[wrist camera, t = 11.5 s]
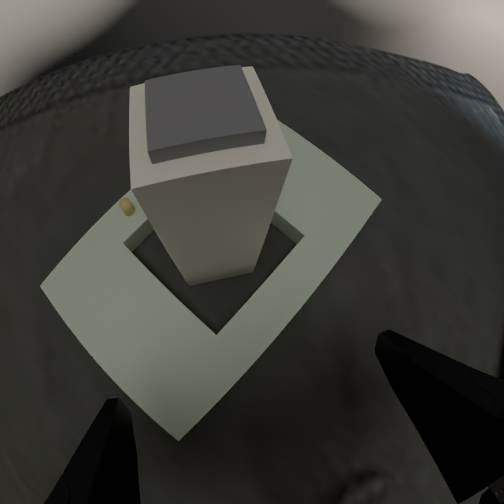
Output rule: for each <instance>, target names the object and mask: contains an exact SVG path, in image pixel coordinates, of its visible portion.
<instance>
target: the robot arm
mask: <svg viewBox="0 0 504 504" xmlns="http://www.w3.org/2000/svg"><path fill="white" fill-rule="evenodd" d="M375 353H376V356H377V358H378V360H379V362H380V364H381V366H382V368H383V371H384V373H385V375H386V377H387V379H388V381H389V383H390V385H391V387H392V389H393V391H394V392H395V394H396V396H397V397H398V399H399V401H400V402H401V404H402V406H403V407H404V409H405V411H406V412H407V414H408V416H409V417H410V419H411V421H412V422H413V424H414V426H415V428H416V429H417V431H418V433H419V434H420V436H421V438H422V440H423V441H424V443H425V445H426V447H427V448H428V450H429V452H430V454H431V455H432V457H433V459H434V461H435V463H436V464H437V466H438V468H439V470H440V472H441V474H442V476H443V478H444V479H445V481H446V483H447V485H448V487H449V489H450V491H451V493H452V495H453V496H454V498H455V500H456V502H457V503H458V504H459V503H461V502H463V501H464V500H466V499H468V498H470V497H471V496H473V495H475V494H476V493H478V492H480V491H481V490H483V489H484V488H486V487H489V488H488V489H487V490H486V491H485V492H484V493H483V494H482V495H481V498H480V502H479V504H504V380H503V379H500V378H497V377H494V376H491V375H488V374H486V373H483V372H481V371H479V370H476V369H474V368H472V367H470V366H469V367H468V366H467V365H465V364H463V363H461V362H459V361H456V360H454V359H452V358H450V357H448V356H445V355H443V354H441V353H439V352H437V351H435V350H432V349H430V348H428V347H426V346H424V345H422V344H419V343H417V342H415V341H413V340H411V339H409V338H406V337H404V336H402V335H400V334H398V333H396V332H394V331H391V330H385V331H383V332H380V333H379V334H378V337H377V342H376V346H375ZM44 504H141V502H140V492H139V480H138V464H137V451H136V444H135V438H134V431H133V423H132V416H131V412H130V410H129V408H128V407H127V406H126V404H125V403H124V402H123V400H122V399H121V398H120V397H110V398H108V399H107V400H106V402H105V403H104V405H103V407H102V408H101V410H100V411H99V413H98V415H97V416H96V418H95V420H94V421H93V423H92V424H91V426H90V428H89V429H88V431H87V433H86V434H85V436H84V438H83V439H82V441H81V443H80V444H79V446H78V448H77V449H76V451H75V453H74V455H73V456H72V458H71V460H70V461H69V463H68V465H67V467H66V468H65V470H64V472H63V474H62V475H61V477H60V479H59V481H58V482H57V484H56V486H55V487H54V489H53V491H52V492H51V494H50V495H49V497H48V498H47V500H46V501H45V503H44Z"/></svg>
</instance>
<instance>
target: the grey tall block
mask: <svg viewBox="0 0 504 504" xmlns="http://www.w3.org/2000/svg"><path fill="white" fill-rule="evenodd" d="M129 152H130V178H131V190H132V192H133V193H134V195H135V197H136V199H137V201H138V202H139V204H140V206H141V208H142V209H143V211H144V213H145V215H146V216H147V218H148V220H149V222H150V223H151V225H152V227H153V228H154V230H155V232H156V234H157V235H158V237H159V239H160V240H161V242H162V244H163V245H164V247H165V249H166V250H167V252H168V253H169V255H170V257H171V258H172V260H173V262H174V263H175V265H176V266H177V268H178V270H179V271H180V273H181V274H182V276H183V277H184V279H185V281H186V282H187V284H188V285H189V286H193V285H198V284H202V283H207V282H211V281H216V280H220V279H225V278H229V277H234V276H238V275H242V274H247V273H251V272H254V269H255V266H256V263H257V260H258V257H259V255H260V252H261V249H262V246H263V243H264V240H265V237H266V234H267V232H268V229H269V226H270V223H271V220H272V217H273V214H274V211H275V209H276V206H277V203H278V200H279V197H280V194H281V191H282V188H283V185H284V182H285V179H286V177H287V174H288V171H289V168H290V165H291V162H292V159H293V158H292V155H291V153H290V150H289V148H288V145H287V143H286V140H285V138H284V136H283V133H282V131H281V128H280V126H279V124H278V121H277V119H276V117H275V114H274V112H273V110H272V107H271V105H270V103H269V101H268V98H267V96H266V94H265V92H264V89H263V87H262V85H261V83H260V81H259V79H258V76H257V74H256V72H255V70H254V68H253V66H252V67H241V65H234V66H225V67H217V68H209V69H202V70H196V71H189V72H184V73H178V74H173V75H168V76H163V77H159V78H154V79H150V80H145V83H144V84H140V85H136V86H132V87H130V105H129Z"/></svg>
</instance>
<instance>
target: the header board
mask: <svg viewBox="0 0 504 504" xmlns="http://www.w3.org/2000/svg"><path fill="white" fill-rule="evenodd" d="M277 121H278V120H277ZM278 124H279V126H280V128H281V131H282V133H283V136H284V138H285V140H286V143H287V145H288V148H289V150H290V153H291V155H292V158H293V159H292V162H291V165H290V168H289V171H288V174H287V177H286V179H285V182H284V185H283V188H282V191H281V194H280V197H279V200H278V203H277V206H276V209H275V211H274V214H273V217H272V220H271V224H273V225H274V226H275V227H276V228H277V229H279V230H280V231H281V232H282V233H283V234H285V235H286V236H287V237H288V238H289V239H291V240H292V241H293V242H294V243H295V244H297V245H296V246H295V248H294V249H293V250H292V251H291V252H290V253H289V254H288V256H287V257H286V258H285V259H284V260H283V261H282V262H281V264H280V265H279V266H278V267H277V268H276V269H275V270H274V272H273V273H272V274H271V275H270V276H269V277H268V278H267V280H266V281H265V282H264V283H263V284H262V285H261V286H260V287H259V289H258V290H257V291H256V292H255V293H254V294H253V295H252V296H251V298H250V299H249V300H248V301H247V302H246V303H245V304H244V305H243V307H242V308H241V309H240V310H239V311H238V312H237V313H236V314H235V315H234V316H233V318H232V319H231V320H230V321H229V322H228V323H227V324H226V325H225V326H224V327H223V329H222V330H221V331H220V332H219V333H218V334H217V335H216V334H215V333H214V332H213V331H212V330H210V329H209V328H208V327H207V326H206V325H205V324H204V323H203V322H202V321H201V320H200V319H198V318H197V317H196V316H195V315H194V314H193V313H192V312H191V311H190V310H189V309H188V308H187V307H186V306H185V305H183V304H182V303H181V302H180V301H179V300H178V299H177V298H176V297H175V296H174V295H173V294H172V293H171V292H170V291H169V290H168V289H167V288H166V287H165V286H164V285H163V284H162V283H161V282H160V281H159V280H158V279H157V278H156V277H155V276H154V275H153V274H152V273H151V272H150V271H149V270H148V269H147V268H146V267H145V266H144V265H143V264H142V263H141V262H140V261H139V260H138V259H137V258H136V256H135V255H134V254H133V253H132V252H133V251H134V250H135V249H136V248H137V247H138V246H139V245H140V244H141V243H142V242H143V241H144V240H145V239H146V238H147V237H148V236H149V235H150V234H151V233H152V232H153V231H154V228H153V227H152V225H151V223H150V222H149V220H148V218H147V216H146V215H145V213H144V211H143V209H142V208H141V206H140V204H139V202H138V201H137V199H136V197H135V195H134V193H133V192H132V190H130V191H129V192H127V193H126V194H125V195H124V196H123V197H122V198H121V199H120V200H119V201H118V202H117V203H116V204H115V205H114V206H113V207H112V208H111V209H110V210H109V211H108V212H107V213H106V214H104V215H103V216H102V217H101V218H100V219H99V221H98V222H97V223H96V224H95V225H94V226H93V227H92V228H91V229H90V230H89V231H88V232H87V233H86V234H85V235H84V236H83V237H82V238H81V239H80V240H79V241H78V242H77V244H76V245H75V246H74V247H73V248H72V249H71V250H70V251H69V252H68V254H67V255H66V256H65V257H64V258H63V259H62V260H61V262H60V263H59V264H58V265H57V266H56V267H55V269H54V270H53V271H52V272H51V273H50V274H49V276H48V277H47V278H46V279H45V281H44V282H43V283H42V284H41V285H40V286H41V288H42V290H43V291H44V293H45V294H46V296H47V297H48V299H49V300H50V302H51V303H52V305H53V306H54V307H55V309H56V310H57V312H58V313H59V315H60V316H61V317H62V319H63V320H64V321H65V323H66V324H67V326H68V327H69V328H70V329H71V331H72V332H73V333H74V335H75V336H76V337H77V339H78V340H79V341H80V342H81V344H82V345H83V346H84V347H85V349H86V350H87V351H88V352H89V353H90V355H91V356H92V357H93V358H94V359H95V360H96V362H97V363H98V364H99V365H100V366H101V367H102V368H103V370H104V371H105V372H106V373H107V374H108V375H109V376H110V377H111V378H112V379H113V380H114V382H115V383H116V384H117V385H118V386H119V387H120V388H121V389H122V390H123V391H124V392H125V393H126V394H127V395H128V396H129V397H130V398H131V399H132V400H133V401H134V402H135V403H136V404H137V405H138V406H139V407H140V408H141V409H142V410H143V411H144V412H146V413H147V414H148V415H149V416H150V417H151V418H152V419H153V420H154V421H155V422H157V423H158V424H159V425H160V426H161V427H162V428H163V429H165V430H166V431H167V432H168V433H169V434H170V435H172V436H173V437H174V438H175V439H176V440H178V441H179V440H180V439H181V438H182V437H183V436H184V435H185V434H186V433H187V432H188V431H190V430H191V429H192V428H193V427H194V426H195V425H196V424H197V423H198V422H199V421H200V420H201V419H202V418H203V417H204V416H205V415H206V414H207V413H208V411H209V410H210V409H211V408H212V407H213V406H214V405H215V404H216V403H217V402H218V401H219V400H220V399H221V398H222V397H223V396H224V395H225V394H226V393H227V392H228V391H229V390H230V388H231V387H232V386H233V385H234V384H235V383H236V382H237V381H238V380H239V379H240V378H241V377H242V376H243V374H244V373H245V372H246V371H247V370H248V369H249V368H250V367H251V366H252V364H253V363H254V362H255V361H256V360H257V359H258V358H259V357H260V355H261V354H262V353H263V352H264V351H265V350H266V349H267V347H268V346H269V345H270V344H271V343H272V342H273V341H274V339H275V338H276V337H277V336H278V335H279V333H280V332H281V331H282V330H283V329H284V328H285V326H286V325H287V324H288V323H289V322H290V320H291V319H292V318H293V317H294V316H295V314H296V313H297V312H298V311H299V309H300V308H301V307H302V306H303V305H304V303H305V302H306V301H307V300H308V298H309V297H310V296H311V295H312V293H313V292H314V291H315V290H316V288H317V287H318V286H319V284H320V283H321V282H322V281H323V279H324V278H325V277H326V275H327V274H328V273H329V272H330V270H331V269H332V268H333V266H334V265H335V264H336V262H337V261H338V260H339V258H340V257H341V256H342V254H343V253H344V252H345V250H346V249H347V248H348V246H349V245H350V243H351V242H352V241H353V239H354V238H355V237H356V235H357V234H358V232H359V231H360V230H361V228H362V227H363V225H364V224H365V223H366V221H367V220H368V218H369V217H370V216H371V214H372V213H373V211H374V210H375V208H376V207H377V205H378V204H379V202H380V201H381V200H382V199H381V198H380V197H378V196H377V195H376V194H375V193H374V192H373V191H371V190H370V189H369V188H368V187H367V186H365V185H364V184H363V183H362V182H361V181H359V180H358V179H357V178H356V177H355V176H353V175H352V174H351V173H350V172H348V171H347V170H346V169H345V168H343V167H342V166H341V165H339V164H338V163H337V162H336V161H334V160H333V159H332V158H330V157H329V156H328V155H326V154H325V153H324V152H322V151H321V150H320V149H318V148H317V147H315V146H314V145H313V144H311V143H310V142H309V141H307V140H306V139H304V138H303V137H302V136H300V135H299V134H297V133H296V132H294V131H293V130H291V129H290V128H288V127H287V126H286V125H284V124H283V123H281V122H280V121H278Z"/></svg>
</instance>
